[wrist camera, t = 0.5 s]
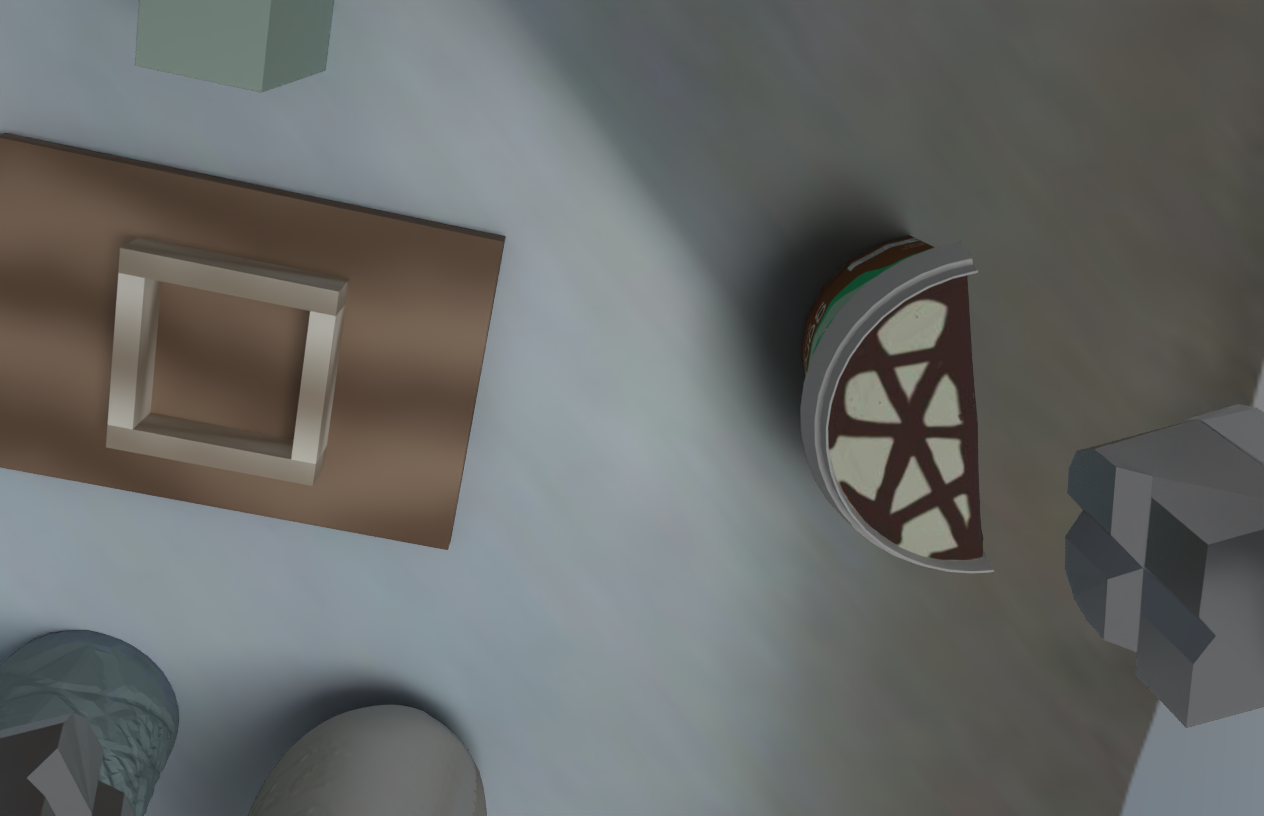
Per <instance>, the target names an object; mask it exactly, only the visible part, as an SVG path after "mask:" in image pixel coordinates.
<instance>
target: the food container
mask: <svg viewBox="0 0 1264 816" xmlns="http://www.w3.org/2000/svg"><path fill="white" fill-rule="evenodd" d="M975 273H978V270H977V269H976V268H975V267H974V266H973V265H972V257H971V256H970V254H969V253H968V251H967V250H966V248H965V247H964V245H963V244H962V242H961V241H960V242H956V243H952V244H948V245H943V246H939V247H933V246H931V245H929V244H927V243H925V242H922V241H920V240H918V239H916V238H914V237H912V236H909V237H904V238H900V239H896V240H892V241H887V242H883V243H881V244H879V245H877V246H876V247H874V248H872V249H870V250H868V251H866V252H864V253H863V254H861V255H859V256H857V257H855V258H853V259H851V260H850V261H848V262H847V263H846V264H845V265H844V266H843V267H842V268H841V269H840V270H839V271H838V272H837V273H836V274H835V275H834V276H833V277H832V278H831V279H830V280H829V281H828V282H827V283H826V284H825V285H824V286H823V288H822V290H821V292H820V294H819V295H818V297H817V299H816V301H815V303H814V305H813V307H812V309H811V311H810V312H809V314H808V316H807V318H806V324H805V329H804V334H803V339H802V364H803V369H804V374H805V381H804V386H803V393H802V400H801V407H800V413H801V435H802V440H803V445H804V450H805V455H806V458H807V461H808V464H809V466H810V469H811V471H812V474H813V476H814V479H815V481H816V482H817V484H818V486H819V487H820V489H821V491H822V492H823V494H824V495H825V497H826V499H827V500H828V501H829V502H830V504H831V505H832V506H833V507H834V508H835V509H836V510H837V512H838V513H839V514H840V515H841V516H842V517H843V518H844V519H845V520H846V521H847V522H848V523H849V524H851V525H852V526H853V527H854V528H855V529H856V530H858V531H859V532H860V533H861V534H862V535H864V536H865V537H866V538H867V539H868V540H870V541H871V542H872V543H873V544H875V545H877V546H878V547H880V548H882V549H883V550H885V551H887V552H889V553H890V554H892V555H894V556H896V557H899V558H901V559H904V560H906V561H909V562H912V563H914V564H917V565H922V566H925V567H929V568H934V569H938V570H943V571H947V572H960V573H985V572H994V570H993V568H992V566H991V564H990V562H989V560H988V558H987V556H986V554H985V552H984V551H983V535H982V530H981V520H980V500H979V474H978V422H977V411H976V400H975V390H974V377H973V363H972V349H971V332H970V314H969V297H968V282H967V275H970V274H975Z"/></svg>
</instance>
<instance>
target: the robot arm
mask: <svg viewBox="0 0 1264 816" xmlns="http://www.w3.org/2000/svg"><path fill="white" fill-rule="evenodd" d="M1067 493H1068V495H1069V496H1070V497H1071V498H1072V499H1073V500H1074V501H1075V502H1076V503H1077V504H1078V505H1079V507H1080V508H1081V509H1082V510H1083V511H1082V512H1081V514H1080V515H1079V516H1078V518H1077V519H1076V521H1075V522H1074V524H1073V525H1072V527H1071V528H1070V530H1069V531H1068V533H1067V534H1066V536H1065V570H1066V574H1067V577H1068V580H1069V584H1070V587H1071V590H1072V594H1073V597H1074V600H1075V601H1076V603H1077V605H1078V607H1079V608H1080V610H1081V612H1082V613H1083V615H1084V617H1085V619H1086V620H1087V621H1088V623H1089V624H1090V625H1091V626H1092V627H1093V628H1094V629H1095V630H1096V632H1097V633H1098V634H1099V635H1100V636H1101V637H1102V638H1103V639H1104V640H1106V641H1108V642H1111V643H1114V644H1116V645H1119V646H1122V647H1124V648H1127V649H1130V650H1132V651H1135V652H1137V655H1136V675H1137V676H1138V677H1139V678H1140V679H1141V680H1142V681H1143V683H1144V684H1145V685H1146V686H1147V687H1148V688H1149V689H1150V690H1151V691H1152V692H1153V693H1154V694H1155V695H1156V696H1157V697H1158V698H1159V700H1160V701H1161V702H1162V703H1163V704H1164V705H1165V706H1166V707H1167V708H1168V709H1169V710H1170V711H1171V712H1172V713H1173V714H1174V715H1175V717H1176V718H1177V719H1178V720H1179V721H1180V722H1181V723H1182V724H1183V725H1184V726H1185V727H1186V728H1188V727H1192V726H1195V725H1199V724H1203V723H1206V722H1210V721H1214V720H1217V719H1221V718H1225V717H1229V716H1232V715H1236V714H1239V713H1243V712H1247V711H1251V710H1254V709H1258V708H1262V707H1264V412H1262V411H1261V410H1259V409H1257V408H1254V407H1250V406H1244V405H1239V404H1237V405H1234V406H1231V407H1227V408H1224V409H1220V410H1217V411H1214V412H1210V413H1207V414H1203V415H1200V416H1197V417H1193V418H1190V419H1186V420H1185V421H1184V422H1183V423H1180V424H1176V425H1172V426H1168V427H1165V428H1161V429H1157V430H1153V431H1150V432H1146V433H1142V434H1138V435H1135V436H1131V437H1127V438H1123V439H1120V440H1116V441H1112V442H1108V443H1105V444H1101V445H1097V446H1093V447H1090V448H1086V449H1082V450H1078V451H1076V453H1075V455H1074V457H1073V460H1072V462H1071V464H1070V467H1069V474H1068V490H1067ZM103 753H104V750H103V748H102V746H101V744H100V743H99V741H98V739H97V737H96V735H95V733H94V731H93V730H92V728H91V726H90V724H89V722H88V720H87V719H86V718H84V717H82V716H79V715H77V714H75V713H70V714H66V715H62V716H58V717H54V718H50V719H45V720H41V721H37V722H33V723H29V724H25V725H20V726H16V727H12V728H8V729H4V730H0V816H135V815H134V812H133V810H132V808H131V806H130V804H129V802H128V800H127V797H126V795H125V793H123V792H121V791H119V790H117V789H115V788H113V787H111V786H109V785H107V784H105V783H103V782H101V781H99V780H98V779H99V774H100V769H101V763H102V758H103Z"/></svg>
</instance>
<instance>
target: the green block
mask: <svg viewBox="0 0 1264 816" xmlns="http://www.w3.org/2000/svg"><path fill="white" fill-rule="evenodd" d="M333 4H334V0H140V1H139V15H138V29H137V43H136V57H135V66H140V67H144V68H149V69H154V70H158V71H163V72H168V73H172V74H177V75H182V76H186V77H191V78H196V79H201V80H205V81H210V82H215V83H219V84H224V85H229V86H233V87H238V88H243V89H247V90H252V91H257V92H264V91H267V90H270V89H273V88H276V87H279V86H282V85H284V84H287V83H290V82H293V81H296V80H299V79H302V78H305V77H307V76H310V75H313V74H316V73H319V72H322V71H325V69H326V61H327V53H328V45H329V37H330V28H331V20H332V12H333Z"/></svg>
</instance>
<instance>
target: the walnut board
mask: <svg viewBox="0 0 1264 816" xmlns="http://www.w3.org/2000/svg"><path fill="white" fill-rule="evenodd" d="M504 242H505V236H500V235H495V234H491V233H486V232H481V231H476V230H471V229H466V228H462V227H457V226H452V225H447V224H442V223H437V222H433V221H428V220H423V219H418V218H413V217H408V216H404V215H399V214H394V213H389V212H384V211H379V210H375V209H370V208H365V207H360V206H355V205H350V204H346V203H341V202H336V201H331V200H326V199H321V198H317V197H312V196H307V195H302V194H297V193H293V192H288V191H283V190H278V189H273V188H268V187H264V186H259V185H254V184H249V183H244V182H239V181H235V180H230V179H225V178H220V177H215V176H210V175H206V174H201V173H196V172H191V171H186V170H181V169H177V168H172V167H167V166H162V165H157V164H152V163H148V162H143V161H138V160H133V159H128V158H123V157H119V156H114V155H109V154H104V153H99V152H94V151H90V150H85V149H80V148H75V147H70V146H65V145H61V144H56V143H51V142H46V141H41V140H36V139H32V138H27V137H22V136H17V135H12V134H8V133H4V134H1V135H0V467H2V468H7V469H13V470H18V471H23V472H29V473H34V474H40V475H45V476H50V477H56V478H61V479H67V480H72V481H78V482H83V483H88V484H94V485H99V486H105V487H110V488H115V489H121V490H126V491H132V492H137V493H142V494H148V495H153V496H159V497H164V498H169V499H175V500H180V501H186V502H191V503H196V504H202V505H207V506H213V507H218V508H224V509H229V510H234V511H240V512H245V513H251V514H256V515H261V516H267V517H272V518H278V519H283V520H288V521H294V522H299V523H305V524H310V525H315V526H321V527H326V528H332V529H337V530H342V531H348V532H353V533H359V534H364V535H370V536H375V537H380V538H386V539H391V540H397V541H402V542H407V543H413V544H418V545H424V546H429V547H434V548H440V549H445V550H448V548H449V544H450V541H451V536H452V531H453V525H454V519H455V514H456V508H457V503H458V497H459V492H460V486H461V481H462V475H463V470H464V464H465V458H466V453H467V447H468V442H469V436H470V431H471V425H472V420H473V414H474V408H475V403H476V397H477V392H478V386H479V381H480V375H481V370H482V364H483V359H484V353H485V347H486V342H487V336H488V331H489V325H490V320H491V314H492V309H493V303H494V298H495V292H496V286H497V281H498V275H499V270H500V264H501V259H502V253H503V248H504Z"/></svg>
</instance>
